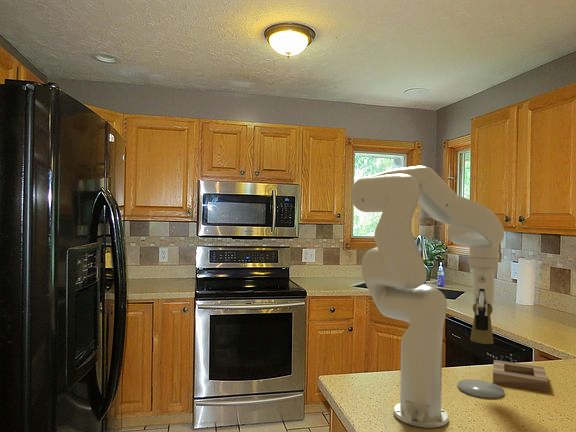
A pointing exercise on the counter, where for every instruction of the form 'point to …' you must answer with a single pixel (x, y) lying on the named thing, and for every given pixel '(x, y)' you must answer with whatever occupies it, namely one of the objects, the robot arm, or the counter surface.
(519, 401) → the counter surface
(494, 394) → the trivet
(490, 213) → the robot arm
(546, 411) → the counter surface
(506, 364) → the frame
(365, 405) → the counter surface
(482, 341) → the cork
